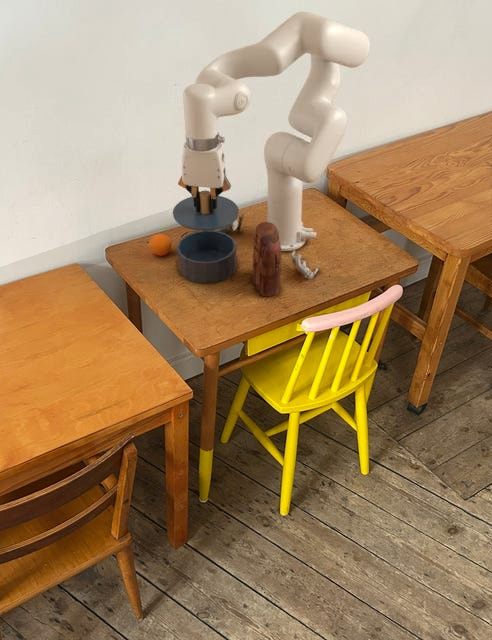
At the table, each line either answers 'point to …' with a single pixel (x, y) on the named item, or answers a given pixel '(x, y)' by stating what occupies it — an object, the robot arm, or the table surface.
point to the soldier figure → (303, 266)
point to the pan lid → (205, 213)
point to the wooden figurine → (267, 259)
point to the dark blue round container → (207, 256)
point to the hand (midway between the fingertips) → (205, 209)
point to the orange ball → (160, 244)
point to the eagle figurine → (232, 226)
